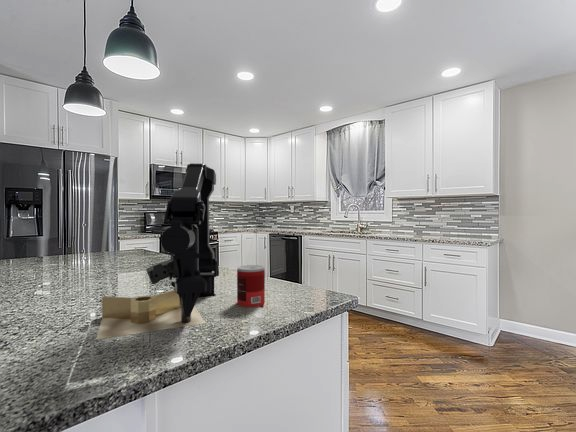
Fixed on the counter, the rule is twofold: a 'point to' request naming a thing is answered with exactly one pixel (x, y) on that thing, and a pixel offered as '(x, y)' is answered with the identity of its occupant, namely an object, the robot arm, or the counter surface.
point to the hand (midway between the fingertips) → (186, 314)
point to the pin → (183, 318)
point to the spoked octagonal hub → (139, 306)
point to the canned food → (251, 286)
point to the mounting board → (146, 324)
